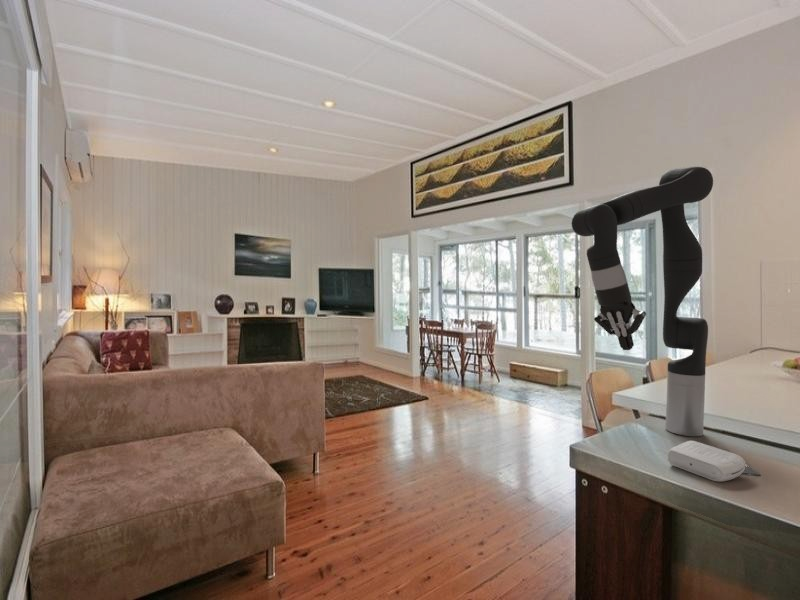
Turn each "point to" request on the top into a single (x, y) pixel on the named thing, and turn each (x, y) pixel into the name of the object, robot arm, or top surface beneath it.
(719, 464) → the photo printer
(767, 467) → the top surface
